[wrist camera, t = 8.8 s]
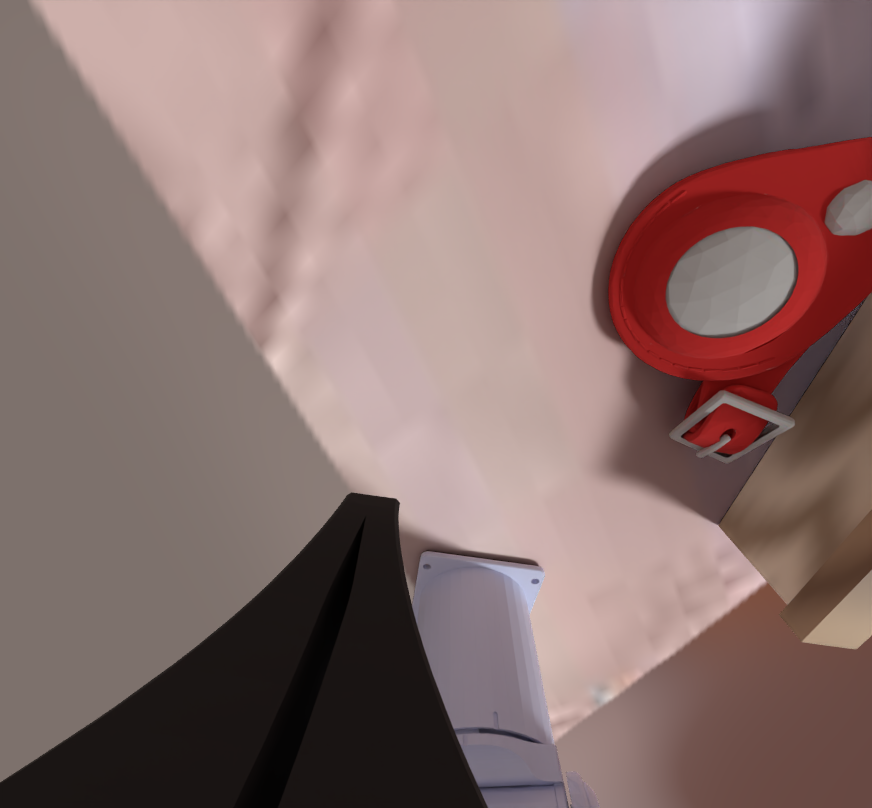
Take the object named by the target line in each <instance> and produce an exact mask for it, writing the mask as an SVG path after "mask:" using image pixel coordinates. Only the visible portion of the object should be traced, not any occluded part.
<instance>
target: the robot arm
mask: <svg viewBox="0 0 872 808" xmlns="http://www.w3.org/2000/svg"><path fill="white" fill-rule="evenodd" d="M399 505H400V503H399V501H398V500H397V499H394V498H387V497H379V496H372V495H365V494H358V493H350V494H348V495H347V496H346V498H345V499H344V501H343V502H342V503H341V505H340V506H339V507H338V509H337V510H336V511H335V512H334V514H333V515H332V516H331V517H330V519H329V520H328V521H327V522H326V523H325V525H324V526H323V527H322V528H321V529H320V531H319V532H318V533H317V534H316V535H315V536H314V537H313V539H312V540H311V541H310V542H309V543H308V544H307V545H306V546H305V547H304V549H303V550H302V551H301V552H300V553H299V554H298V555H297V556H296V557H295V558H294V559H293V560H292V561H291V562H290V563H289V564H288V565H287V566H286V567H285V568H284V569H283V570H282V571H281V572H280V573H279V574H278V575H277V577H275V578H274V579H273V581H272V582H270V583H269V584H268V585H267V586H266V587H265V588H264V589H263V590H262V591H261V592H260V593H259V594H258V595H257V596H255V598H253V599H252V600H251V601H250V602H249V603H248V604H247V605H245V606H244V607H243V608H242V609H241V610H240V611H239V612H237V613H236V614H235V615H234V616H233V617H232V618H231V619H229V620H228V621H227V622H226V623H225V624H223V625H222V626H221V627H220V628H218V629H217V630H216V631H215V632H214V633H212V634H211V635H210V636H209V637H207V639H205V640H204V641H203V642H201V643H200V644H199V645H198V646H196V647H195V648H194V649H193V650H191V651H190V652H189V653H187V655H185V656H184V657H182V658H181V659H180V660H178V661H177V662H176V663H174V664H173V665H172V666H170V667H169V668H168V669H166V670H165V671H164V672H162V673H161V674H160V675H158V676H157V677H155V678H154V679H152V680H151V681H150V682H148V683H147V684H146V685H144V686H143V687H142V688H140V689H139V690H137V691H136V692H135V693H133V694H132V695H130V696H129V697H128V698H126V699H125V700H124V701H122V702H121V703H119V704H118V705H117V706H115V707H114V708H112V709H111V710H109V711H108V712H107V713H105V714H104V715H102V716H101V717H100V718H98V719H97V720H95V721H93V722H92V723H90V724H89V725H87V726H86V727H84V728H83V729H81V730H80V731H78V732H77V733H75V734H74V735H72V736H71V737H69V738H68V739H66V740H65V741H63V742H62V743H60V744H58V745H57V746H55V747H54V748H52V749H51V750H49V751H48V752H46V753H45V754H43V755H42V756H40V757H39V758H38V759H36V760H34V761H33V762H31V763H29V764H28V765H27V766H25V767H23V768H22V769H20V770H19V771H17V772H16V773H14V774H13V775H11V776H9V777H8V778H6V779H5V780H3V781H2V782H0V808H569V806H568V801H567V796H566V791H565V786H564V781H563V776H562V772H561V767H560V762H559V758H558V752H557V748H556V745H554V740H553V734H552V729H551V724H550V719H549V714H548V708H547V703H546V698H545V693H544V688H543V682H542V677H541V672H540V667H539V662H538V656H537V651H536V646H535V641H534V636H533V630H532V625H531V620H530V612H531V610H532V607H533V605H534V602H535V600H536V597H537V595H538V592H539V590H540V587H541V585H542V582H543V580H544V577H545V573H544V570H543V568H542V567H539V566H534V565H526V564H519V563H512V562H504V561H497V560H490V559H482V558H475V557H468V556H460V555H453V554H446V553H438V552H431V551H426V552H423V553H422V554H421V556H420V562H419V568H418V574H417V580H416V585H415V591H414V598H413V604H411V600H410V595H409V591H408V587H407V582H406V577H405V572H404V566H403V560H402V554H401V547H400V539H399V525H398V514H399ZM427 564H428V565H427ZM566 777H567V782H568V787H569V792H570V797H571V801H572V804H571V805H570V806H571V808H600V807H599V803H598V800H597V797H596V794H595V792H594V790H593V789H592V788H591V787H590V786H589V785H588V784H587V783H586V782H585V781H582V778H581V776H580V774H579V773H578V772H566Z"/></svg>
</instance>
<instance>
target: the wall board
mask: <svg viewBox="0 0 872 808" xmlns="http://www.w3.org/2000/svg"><path fill="white" fill-rule="evenodd" d="M789 417H791V418H793V419H794V420H795V425H794V426H793V427H792V428H790V429H789V430H787V431H785V432H783V433H781V434H780V435H778V436H776V438H775V439H774V441H773V442H772V444H771V446H770V447H769V449H768V450H767V452H766V453H765V455H764V456H763V458H762V459H761V461H760V462H759V464H758V466H757V467H756V469H755V470H754V472H753V473H752V475H751V476H750V478H749V479H748V481H747V482H746V484H745V485H744V487H743V489H742V490H741V492H740V493H739V495H738V496H737V498H736V499H735V501H734V502H733V504H732V505H731V507H730V508H729V510H728V512H727V513H726V515H725V516H724V518H723V519H722V521H721V522H720V524H719V525H718V526H719V527H720V528H721V529H722V530H723V532H724V533H725V534H726V535H727V536H728V537H729V538H730V540H731V541H732V542H733V543H734V544H735V545H736V546H737V548H738V549H739V550H740V551H741V552H742V553H743V555H744V556H745V557H746V558H747V559H748V560H749V561H750V563H751V564H752V565H753V566H754V567H755V568H756V569H757V571H758V572H759V573H760V574H761V575H762V576H763V577H764V579H765V580H766V581H767V582H768V583H769V584H770V585H771V587H772V588H773V589H774V590H775V591H776V592H777V593H778V595H779V596H780V597H781V598H782V599H783V600H784V602H785V603H786V604H787V606H786V607H785V609H784V610H783V611H782V612H781V613H780V614H779V615H780V617H781V618H782V619H783V620H784V621H785V623H786V624H787V625H788V626H789V627H790V629H791V630H792V631H793V632H794V633H795V635H796V636H797V637H798V638H799V639H800V641H801V642H806V643H814V644H821V645H828V646H836V647H843V648H851V649H857V648H858V647H859V646H860V645H862V644H863V643H864V642H865V641H866V640H867V639H868V638H869V637H870V636H871V635H872V292H871V293H870V294H869V295H868V297H867V298H866V300H865V301H864V303H863V304H862V306H861V307H860V309H859V310H858V312H857V314H856V315H855V317H854V318H853V320H852V321H851V323H850V324H849V326H848V327H847V329H846V330H845V332H844V333H843V335H842V337H841V338H840V340H839V341H838V343H837V344H836V346H835V347H834V349H833V350H832V352H831V353H830V355H829V357H828V358H827V360H826V361H825V363H824V364H823V366H822V367H821V369H820V370H819V372H818V373H817V375H816V376H815V378H814V380H813V381H812V383H811V384H810V386H809V387H808V389H807V390H806V392H805V393H804V395H803V396H802V398H801V400H800V401H799V403H798V404H797V406H796V407H795V409H794V410H793V412H792V413H791V415H790V416H789Z"/></svg>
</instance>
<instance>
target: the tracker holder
mask: <svg viewBox="0 0 872 808" xmlns="http://www.w3.org/2000/svg"><path fill="white" fill-rule="evenodd" d="M871 292H872V137H867V138H860V139H853V140H847V141H841V142H835V143H829V144H824V145H818V146H812V147H806V148H800V149H788V150H782V151H776V152H771V153H765V154H761V155H757V156H753V157H749V158H745V159H740V160H736V161H732V162H728V163H724V164H721V165H718V166H715V167H712V168H709V169H706V170H703V171H701V172H698V173H696V174H693V175H691V176H689V177H687V178H685V179H683V180H681V181H679V182H677V183H675V184H674V185H672V186H670V187H669V188H667V189H666V190H665V191H664V192H662V193H661V194H660V195H659V196H658V197H656V198H655V199H654V200H653V201H651V202H650V204H649V205H648V206H647V207H646V208H645V209H644V210H643V211H642V212H641V213H640V214H639V216H638V217H637V218H636V219H635V220H634V222H633V223H632V224H631V226H630V227H629V229H628V231H627V232H626V234H625V236H624V237H623V239H622V241H621V243H620V245H619V247H618V250H617V252H616V254H615V257H614V260H613V263H612V267H611V271H610V276H609V287H608V296H609V307H610V313H611V317H612V320H613V323H614V326H615V328H616V330H617V332H618V334H619V336H620V337H621V339H622V340H623V342H624V344H625V345H626V346H627V347H628V348H629V349H630V350H631V351H632V352H633V353H634V354H635V355H636V356H637V357H638V358H640V359H641V360H642V361H643V362H645V363H646V364H648V365H650V366H652V367H654V368H655V369H657V370H659V371H662V372H664V373H667V374H669V375H673V376H676V377H680V378H685V379H691V380H701V381H703V382H702V384H701V385H700V387H699V388H698V390H697V392H696V393H695V395H694V397H693V399H692V401H691V403H690V405H689V407H688V409H687V412H686V415H685V418H684V421H683V422H682V423H680V424H679V425H678V426H677V427H676V428H674V429H673V430H672V431H671V432H670V433H669V436H670V438H671V439H673V440H675V441H677V442H680V443H682V444H684V445H686V446H688V447H691V448H693V449H695V450H697V451H698V452H697V453H696V455H697V457H699V458H703V457H705V456H707V455H708V456H710V457H713V458H715V459H717V460H719V461H722V462H724V463H731V462H732V461H734V460H736V459H738V458H739V457H741V456H743V455H745V454H746V453H748V452H750V451H752V450H753V449H755V448H757V447H759V446H760V445H762V444H764V443H766V442H767V441H769V440H771V439H773V438H774V437H776V436H778V435H780V434H781V433H783V432H785V431H787V430H789V429H790V428H792V427H793V426H794V425H795V420H794V419H793V418H791V417H789V416H786V415H784V414H782V413H779V412H777V406H778V404H777V400H776V399H775V397H774V396H773V395H771V394H772V392H773V391H774V389H775V388H776V387H777V385H778V384H779V383H780V381H781V380H782V379H783V377H784V376H785V375H786V373H787V372H788V371H789V369H790V368H791V367H792V366H793V365H794V364H795V362H796V361H797V360H798V359H799V358H800V357H801V356H802V355H803V353H804V352H805V351H806V350H807V349H808V348H809V347H810V346H811V345H812V344H814V343H815V342H816V341H817V340H819V339H820V338H821V337H823V336H824V335H825V334H826V333H828V332H829V331H830V330H831V329H832V328H833V327H834V326H836V325H837V324H838V323H839V322H840V321H841V320H842V319H843V318H844V317H846V316H847V315H848V314H849V313H850V312H851V311H852V310H853V309H854V308H856V307H857V306H858V305H859V304H860V303H861V302H862V301H863V300H864V299H865V298H866V297H867V296H868V295H869V294H870V293H871ZM769 421H770V422H772V423H774V424H772V425H770V426H769V427H767V428H766V429H764V428H765V426H766V425H767V423H768V422H769ZM763 429H764V430H763Z"/></svg>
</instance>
